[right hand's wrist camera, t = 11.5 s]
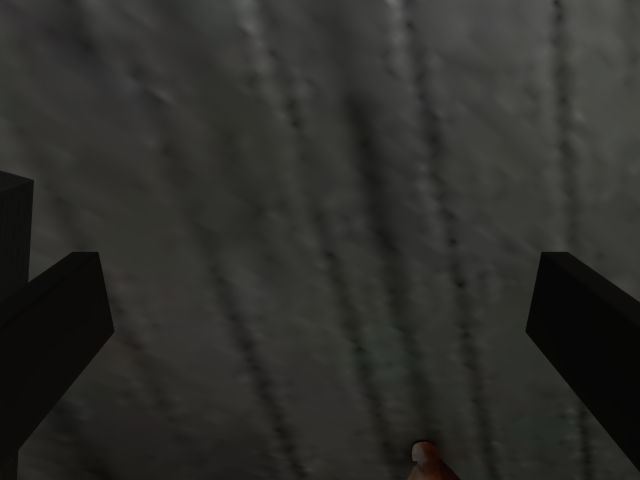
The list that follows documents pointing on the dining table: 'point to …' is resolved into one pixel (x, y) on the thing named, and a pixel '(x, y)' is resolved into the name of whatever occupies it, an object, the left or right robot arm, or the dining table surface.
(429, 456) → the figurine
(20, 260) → the box
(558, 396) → the dining table surface
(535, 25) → the dining table surface
